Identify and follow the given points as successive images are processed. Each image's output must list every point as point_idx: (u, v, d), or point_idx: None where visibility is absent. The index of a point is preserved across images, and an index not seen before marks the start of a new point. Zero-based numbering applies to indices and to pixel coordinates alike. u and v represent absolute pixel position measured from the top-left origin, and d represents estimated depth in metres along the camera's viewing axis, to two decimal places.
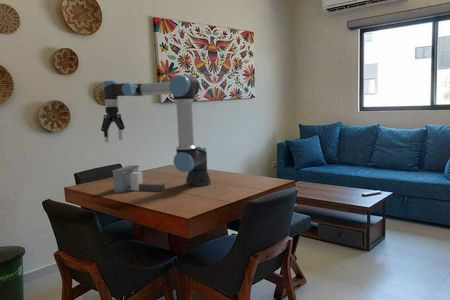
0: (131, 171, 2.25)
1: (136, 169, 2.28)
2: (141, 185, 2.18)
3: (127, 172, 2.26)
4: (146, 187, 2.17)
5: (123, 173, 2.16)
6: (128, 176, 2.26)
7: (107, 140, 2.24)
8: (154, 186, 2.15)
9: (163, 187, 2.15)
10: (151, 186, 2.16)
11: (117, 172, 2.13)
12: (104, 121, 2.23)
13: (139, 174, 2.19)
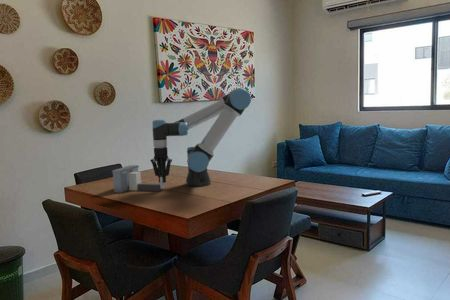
0: (131, 171, 2.25)
1: (136, 169, 2.28)
2: (139, 185, 2.18)
3: (127, 172, 2.26)
4: (144, 187, 2.17)
5: (123, 173, 2.16)
6: (128, 176, 2.26)
7: None
8: (152, 186, 2.15)
9: None
10: (149, 186, 2.16)
11: (117, 172, 2.13)
12: None
13: (137, 174, 2.19)
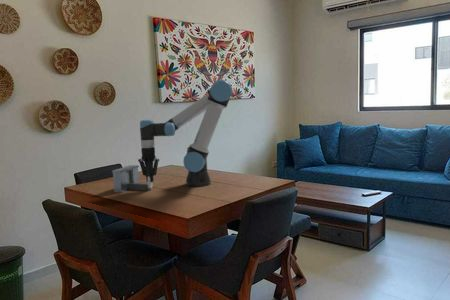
0: (131, 171, 2.25)
1: (136, 169, 2.28)
2: (128, 184, 2.21)
3: None
4: (132, 186, 2.20)
5: (123, 173, 2.16)
6: None
7: None
8: (140, 185, 2.18)
9: None
10: (137, 185, 2.19)
11: (117, 172, 2.13)
12: None
13: (126, 174, 2.22)
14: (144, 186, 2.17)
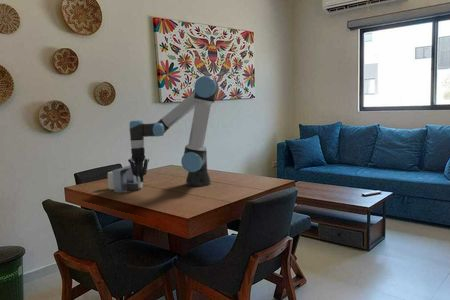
0: (131, 171, 2.25)
1: None
2: None
3: (127, 172, 2.26)
4: None
5: (123, 173, 2.16)
6: (128, 176, 2.26)
7: None
8: (131, 185, 2.20)
9: None
10: (128, 185, 2.21)
11: (117, 172, 2.13)
12: None
13: None
14: (134, 186, 2.20)
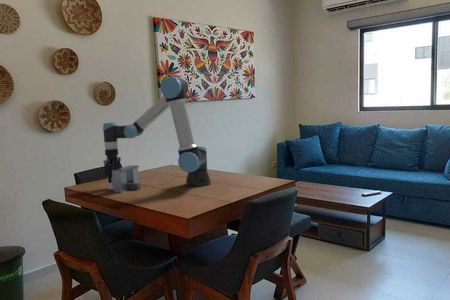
0: (131, 171, 2.25)
1: (136, 169, 2.28)
2: None
3: (127, 172, 2.26)
4: None
5: (123, 173, 2.16)
6: (128, 176, 2.26)
7: (111, 186, 2.23)
8: (130, 185, 2.21)
9: (139, 186, 2.21)
10: (127, 185, 2.21)
11: (117, 172, 2.13)
12: (106, 167, 2.19)
13: None
14: (134, 186, 2.20)
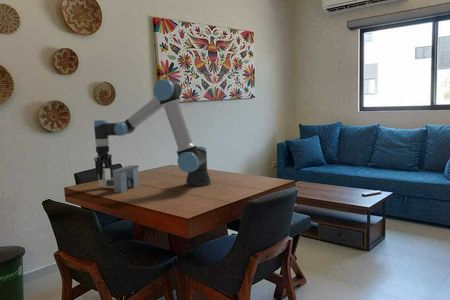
0: (131, 171, 2.25)
1: (136, 169, 2.28)
2: (108, 181, 2.25)
3: (127, 172, 2.26)
4: (113, 183, 2.25)
5: (123, 173, 2.16)
6: (128, 176, 2.26)
7: (102, 183, 2.25)
8: None
9: (129, 183, 2.23)
10: None
11: (117, 172, 2.13)
12: (96, 164, 2.21)
13: (107, 170, 2.26)
14: None
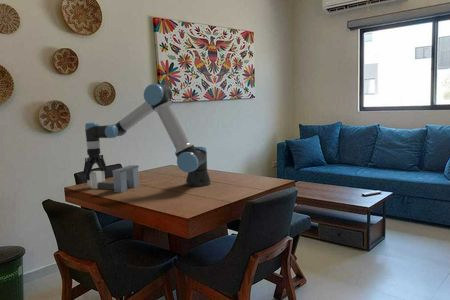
0: (131, 171, 2.25)
1: (136, 169, 2.28)
2: (100, 183, 2.28)
3: (127, 172, 2.26)
4: (104, 185, 2.27)
5: (123, 173, 2.16)
6: (128, 176, 2.26)
7: (89, 183, 2.24)
8: (112, 184, 2.25)
9: None
10: (109, 184, 2.26)
11: (117, 172, 2.13)
12: (86, 164, 2.22)
13: (98, 173, 2.29)
14: None
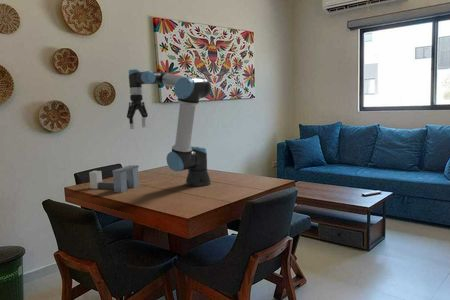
0: (131, 171, 2.25)
1: (136, 169, 2.28)
2: (100, 183, 2.28)
3: (127, 172, 2.26)
4: (104, 185, 2.27)
5: (123, 173, 2.16)
6: (128, 176, 2.26)
7: (132, 127, 2.33)
8: (112, 184, 2.25)
9: None
10: (109, 184, 2.26)
11: (117, 172, 2.13)
12: (129, 108, 2.31)
13: (98, 173, 2.29)
14: None
